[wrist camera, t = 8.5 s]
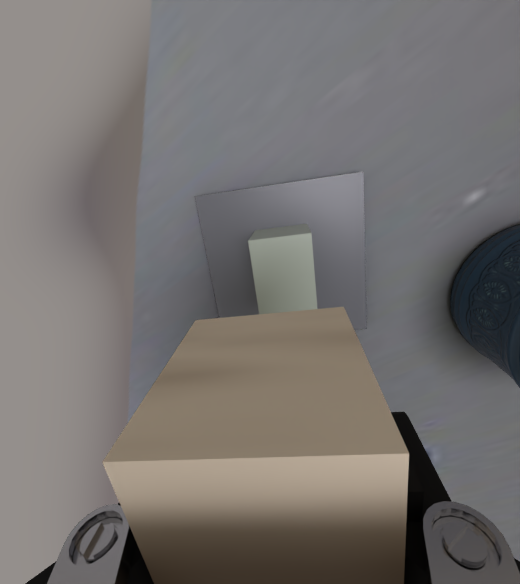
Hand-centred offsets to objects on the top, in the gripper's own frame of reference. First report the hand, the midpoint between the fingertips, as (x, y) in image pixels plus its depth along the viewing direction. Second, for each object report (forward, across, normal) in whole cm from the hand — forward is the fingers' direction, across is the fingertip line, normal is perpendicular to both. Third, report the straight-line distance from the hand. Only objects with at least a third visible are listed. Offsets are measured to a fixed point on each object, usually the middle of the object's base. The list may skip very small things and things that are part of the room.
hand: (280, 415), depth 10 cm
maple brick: (0, 0, 0) cm, 0 cm away
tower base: (+20, 0, 0) cm, 20 cm away
